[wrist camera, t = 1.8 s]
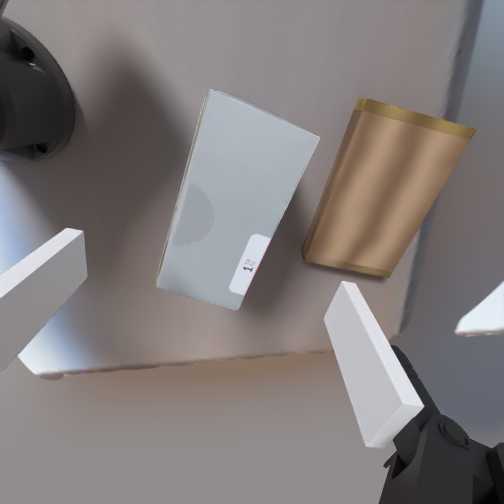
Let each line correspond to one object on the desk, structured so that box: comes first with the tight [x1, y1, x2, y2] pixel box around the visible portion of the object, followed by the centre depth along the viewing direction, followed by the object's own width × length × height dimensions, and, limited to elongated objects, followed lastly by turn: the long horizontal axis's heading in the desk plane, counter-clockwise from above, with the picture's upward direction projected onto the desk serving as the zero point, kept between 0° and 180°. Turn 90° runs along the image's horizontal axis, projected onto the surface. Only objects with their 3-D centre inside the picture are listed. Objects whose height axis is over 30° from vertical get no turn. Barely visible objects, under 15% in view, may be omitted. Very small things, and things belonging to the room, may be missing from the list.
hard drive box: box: [156, 89, 320, 310], centre depth 28 cm, size 16×8×20 cm, turn 158°
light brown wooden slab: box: [301, 99, 476, 278], centre depth 38 cm, size 14×22×3 cm, turn 167°
